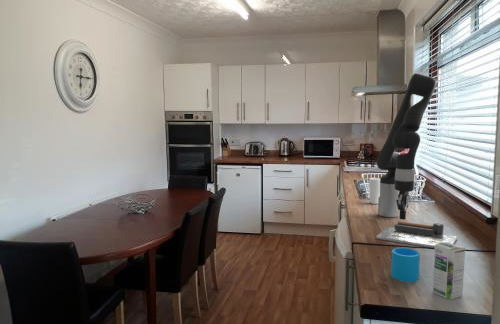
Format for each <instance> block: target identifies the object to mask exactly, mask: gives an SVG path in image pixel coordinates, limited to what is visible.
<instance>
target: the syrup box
mask: <svg viewBox="0 0 500 324" xmlns="http://www.w3.org/2000/svg"><path fill="white" fill-rule="evenodd" d="M465 254H466V247H465V246H460V245H457V244H455V243H454V244H452V243H449V242H442V243H438V244H435V248H434V255H433V256H434V259H433V277H432V279H433V280H432V282H433V283H432V294H436V295H438V296H441V297H442V298H444V299H446V300H449V301H451V300H454V299H457V298H460V297H462V296H463V293H464V291H463V289H464V278H465V277H464V272H465V257H466V255H465Z"/></svg>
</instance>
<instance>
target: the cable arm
mask: <svg viewBox="0 0 500 324" xmlns="http://www.w3.org/2000/svg"><path fill="white" fill-rule="evenodd" d="M394 227H395V230H402V231H409V232H416V233H423V234H429V235H443V234H444V227H445V226H444V224H442V223H439V222H438V223H437V222H436V223H435V222H434V223H433V224H432V225H431V224H424V223H416V222H409V221H408V222H407V221H401V220H399V221H398V220H397V222H396V223H395V224H394Z"/></svg>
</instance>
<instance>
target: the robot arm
mask: <svg viewBox="0 0 500 324" xmlns="http://www.w3.org/2000/svg"><path fill="white" fill-rule="evenodd" d="M436 86H437V79H436V78H435V77H433V76H429V75H424V74H421V73H418V72H417V73H413V75H411V77H410V79H409V81H408V83H407V87H406V90H405V93H404V97H403V99H402V102H401V104H400V107H399V110H398V111H397V114H396V115H395V118H394V120H393V123H392V125H391V128H390V131H389V133H388V136H387V138H386V140H385V142H384V143H383V146H382V148H381V150H380V152H379V153H378V155H377V159H376V166H377V168H378V169H379V170H381V171H387V172H386V173H385V174H384V175H382V176H381V177H380V197H379V198H378V204H377V209H378V210H377V216H380V217H384V218H396V217H399V220H403V221H404V220H406V218H407V210H408V208H409V206H410V200H411V195H410V192H412V191H414V188H415V187H414V186H415V161H416V160H415V159H416V155H417V151H418V148H419V146H420V143H421V135H420V134H419V133H418V131H419V129H420V128H421V127H420V126H421V124H422V119H423V117H424V114H425V111H426V109H427V108H428V106H429V104H430V101H431V99H432V96H433V94H434V92H435V89H436ZM413 95H414V96H417V97H421V99H420V100H419V101H418V102H416V103H415V104H413V102H412V97H413ZM396 149H405V150H407V149H408V152H406V153H401V154H400V153H399V152H397V151H395V150H396Z"/></svg>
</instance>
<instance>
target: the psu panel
mask: <svg viewBox="0 0 500 324" xmlns="http://www.w3.org/2000/svg"><path fill="white" fill-rule="evenodd" d="M375 237H376V238H375V239H377V240H383V241H389V242H395V243H402V244H407V245H414V246H418V247H419V246H420V247H425V248H430V249H435V244H438V243H442V242H449V243H452V244H455V243H456V242H457V240H458V235H457V236H455V235H449V234H444V233H443V235H429V234H423V233H416V232H409V231H402V230H395V226H387V227H386V228H385V229H383V230H382V231H381V232H380V233H378V234H377V235H376V236H375Z"/></svg>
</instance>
